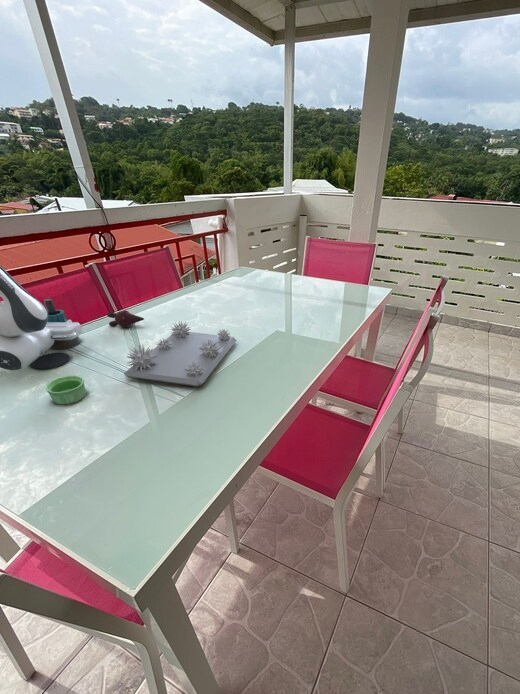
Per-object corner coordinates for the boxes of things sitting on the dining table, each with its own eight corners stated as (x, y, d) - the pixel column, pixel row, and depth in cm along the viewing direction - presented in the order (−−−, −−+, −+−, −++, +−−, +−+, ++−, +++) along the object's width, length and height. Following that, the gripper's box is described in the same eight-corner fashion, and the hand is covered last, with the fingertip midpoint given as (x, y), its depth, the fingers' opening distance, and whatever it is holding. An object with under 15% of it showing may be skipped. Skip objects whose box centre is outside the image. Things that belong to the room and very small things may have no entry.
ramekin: (66, 386, 97) (60, 373, 94) (95, 389, 96) (90, 377, 94) (43, 404, 90) (36, 390, 87) (74, 407, 89) (69, 394, 87)
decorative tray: (201, 391, 99) (197, 361, 93) (121, 380, 101) (112, 351, 96) (237, 343, 127) (236, 318, 122) (174, 335, 130) (170, 311, 124)
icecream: (146, 309, 135) (111, 309, 136) (137, 310, 128) (100, 311, 129) (149, 326, 137) (115, 326, 138) (140, 328, 130) (104, 329, 131)
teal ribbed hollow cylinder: (47, 339, 115) (37, 316, 110) (56, 332, 120) (47, 309, 115) (67, 339, 116) (58, 316, 111) (75, 332, 121) (67, 309, 116)
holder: (42, 349, 115) (22, 304, 106) (56, 337, 123) (39, 294, 114) (73, 349, 116) (56, 305, 107) (85, 337, 124) (70, 295, 115)
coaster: (22, 370, 103) (22, 368, 103) (41, 354, 112) (40, 352, 112) (60, 369, 105) (60, 368, 104) (76, 354, 114) (75, 352, 113)
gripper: (68, 328, 104) (86, 313, 115) (-4, 328, 102) (22, 312, 113) (74, 347, 108) (91, 330, 119) (5, 346, 105) (30, 329, 116)
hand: (57, 321), depth 116 cm, fingers closed on teal ribbed hollow cylinder, 6 cm apart
